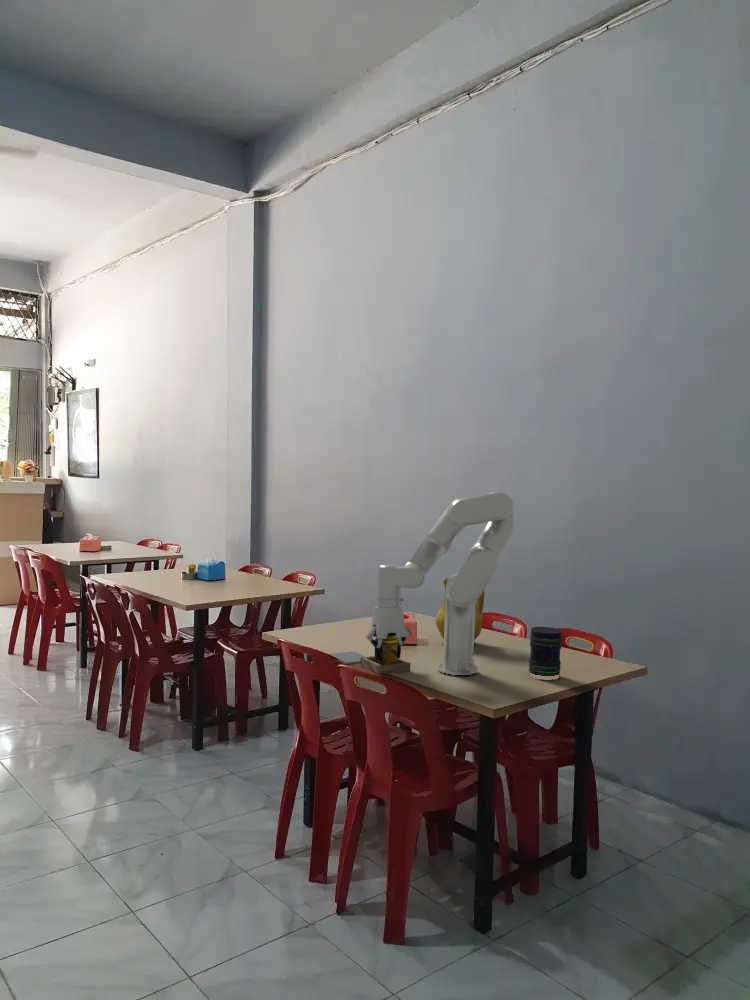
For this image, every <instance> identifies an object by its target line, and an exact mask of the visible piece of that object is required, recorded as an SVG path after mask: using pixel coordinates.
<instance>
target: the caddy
mask: <svg viewBox="0 0 750 1000" xmlns="http://www.w3.org/2000/svg"><path fill="white" fill-rule="evenodd" d="M411 664H412V663H410V662H408V661H406V660H404V659H402V658H401V657H400V658H397V664H387V665H380V664H378V660H377V659H375V655H372V656H365V657H361V663H360V666H362V667H363V668H366V669H368V670H370V671H372V672H374V673H376V674H377V675H385V674H395V673H403V672H404V673H406V672H411Z"/></svg>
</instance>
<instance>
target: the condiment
mask: <svg viewBox="0 0 750 1000" xmlns="http://www.w3.org/2000/svg"><path fill="white" fill-rule="evenodd" d="M397 647H398V640H397V637H396V633H388V635H387V638H386V639H383V641H382V644H381V646H380V648H382V660H380V661H379V660H378V664H380V665H387V664H397Z"/></svg>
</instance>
